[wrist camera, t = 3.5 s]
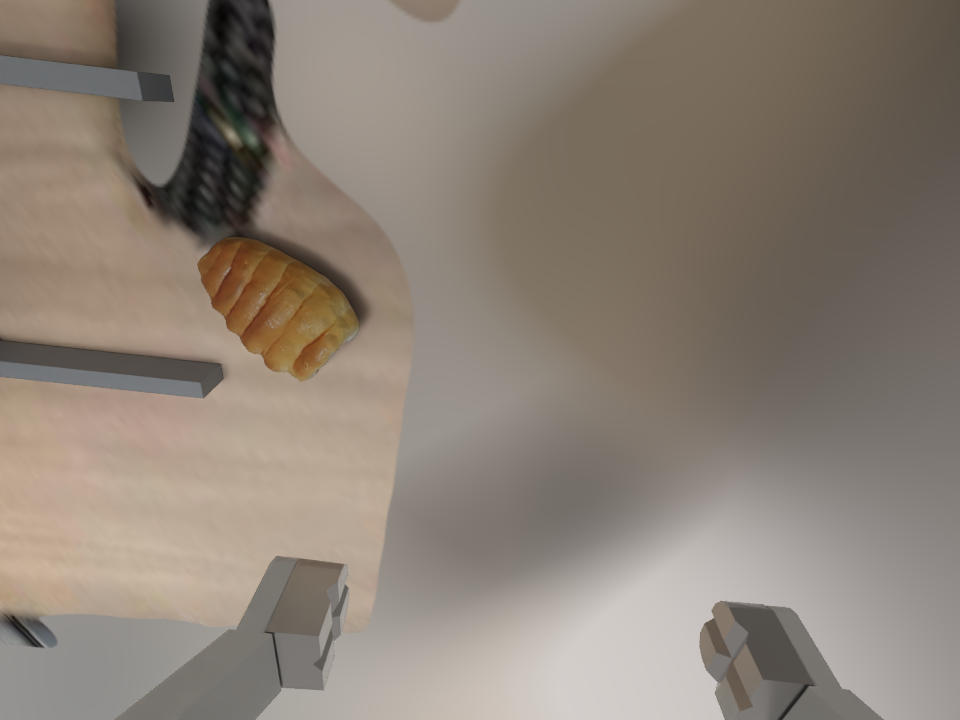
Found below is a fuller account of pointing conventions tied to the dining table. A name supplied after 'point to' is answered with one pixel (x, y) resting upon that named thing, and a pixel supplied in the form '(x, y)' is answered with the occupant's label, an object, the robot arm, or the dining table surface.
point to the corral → (89, 363)
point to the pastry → (277, 305)
